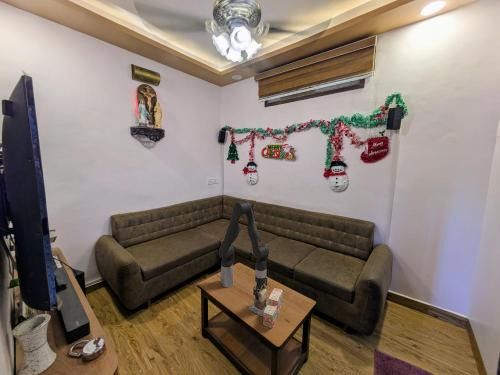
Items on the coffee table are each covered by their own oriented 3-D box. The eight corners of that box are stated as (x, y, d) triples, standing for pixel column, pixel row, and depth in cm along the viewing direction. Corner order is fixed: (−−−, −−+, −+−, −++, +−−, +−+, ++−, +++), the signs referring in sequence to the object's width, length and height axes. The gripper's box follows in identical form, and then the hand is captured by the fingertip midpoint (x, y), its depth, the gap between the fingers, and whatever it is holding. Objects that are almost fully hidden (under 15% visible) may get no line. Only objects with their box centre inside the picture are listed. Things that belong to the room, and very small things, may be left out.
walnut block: (254, 306, 142) (254, 298, 141) (258, 301, 147) (259, 293, 146) (261, 310, 139) (261, 302, 138) (266, 305, 144) (266, 297, 142)
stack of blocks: (272, 328, 126) (272, 311, 124) (262, 325, 129) (263, 307, 126) (282, 305, 145) (283, 289, 143) (273, 302, 148) (274, 287, 146)
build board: (248, 309, 141) (248, 307, 141) (258, 298, 151) (258, 297, 151) (262, 316, 135) (262, 315, 135) (271, 305, 145) (271, 304, 145)
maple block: (254, 298, 141) (254, 291, 140) (259, 293, 146) (259, 286, 145) (261, 302, 138) (262, 294, 137) (266, 297, 142) (266, 289, 141)
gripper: (261, 267, 146) (261, 288, 149) (250, 277, 135) (249, 299, 138) (271, 271, 142) (270, 292, 145) (259, 281, 131) (259, 304, 134)
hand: (260, 295), depth 141 cm, fingers open, 8 cm apart
